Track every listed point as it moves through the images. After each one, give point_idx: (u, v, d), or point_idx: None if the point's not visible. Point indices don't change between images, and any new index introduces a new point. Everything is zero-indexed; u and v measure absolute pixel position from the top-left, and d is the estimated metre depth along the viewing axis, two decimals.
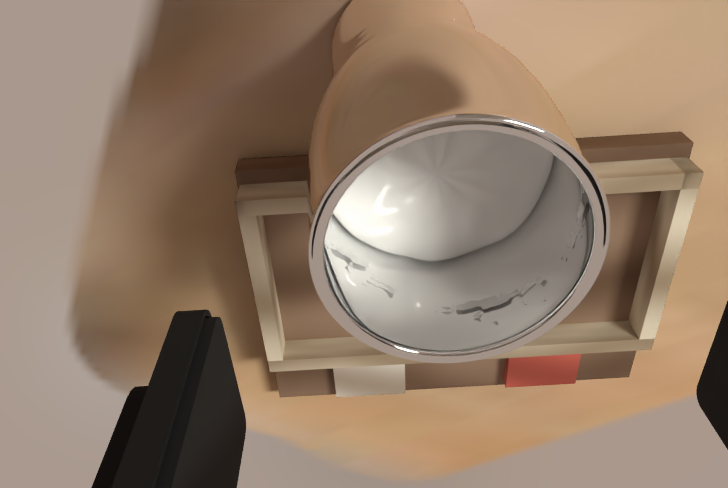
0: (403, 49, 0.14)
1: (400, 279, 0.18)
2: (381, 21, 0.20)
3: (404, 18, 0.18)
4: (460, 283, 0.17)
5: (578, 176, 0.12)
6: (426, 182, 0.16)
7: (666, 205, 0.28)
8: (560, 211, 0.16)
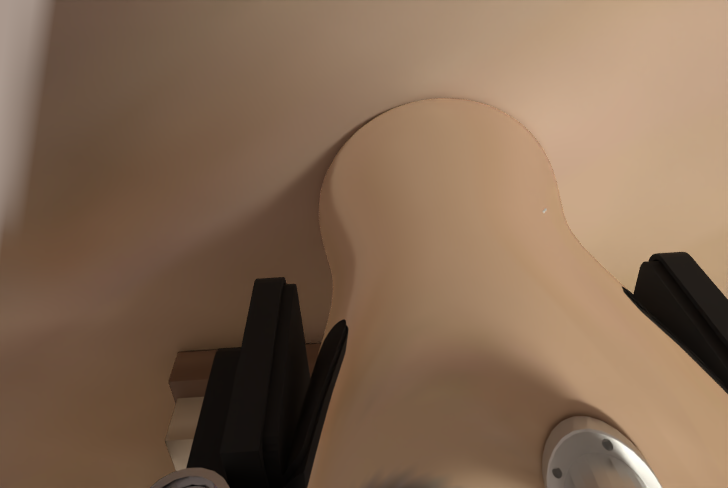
0: None
1: None
2: (410, 225, 0.10)
3: (464, 254, 0.09)
4: None
5: None
6: None
7: None
8: None
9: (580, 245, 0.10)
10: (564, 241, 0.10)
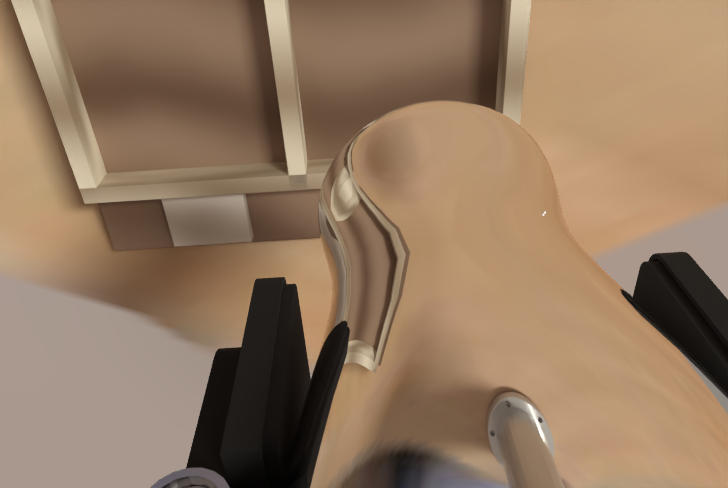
0: None
1: None
2: (410, 228, 0.10)
3: (464, 257, 0.09)
4: None
5: None
6: None
7: None
8: None
9: (580, 248, 0.10)
10: (564, 244, 0.10)
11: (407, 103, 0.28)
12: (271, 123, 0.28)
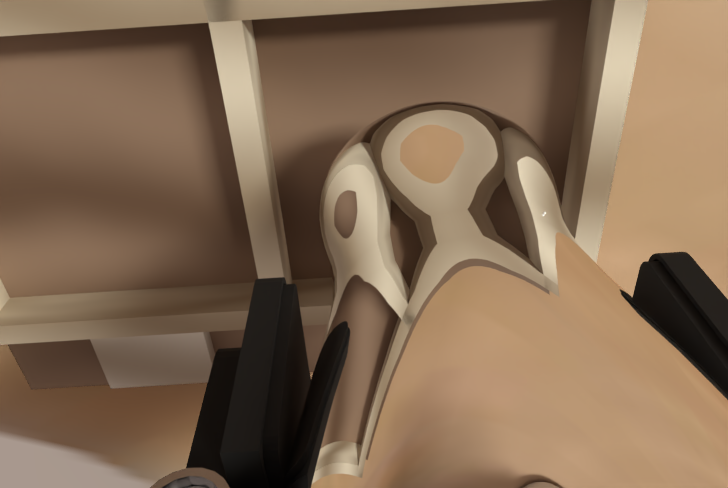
0: None
1: None
2: (410, 228, 0.10)
3: (464, 258, 0.09)
4: None
5: None
6: None
7: (595, 41, 0.16)
8: None
9: (579, 248, 0.10)
10: (563, 245, 0.10)
11: None
12: (239, 234, 0.20)
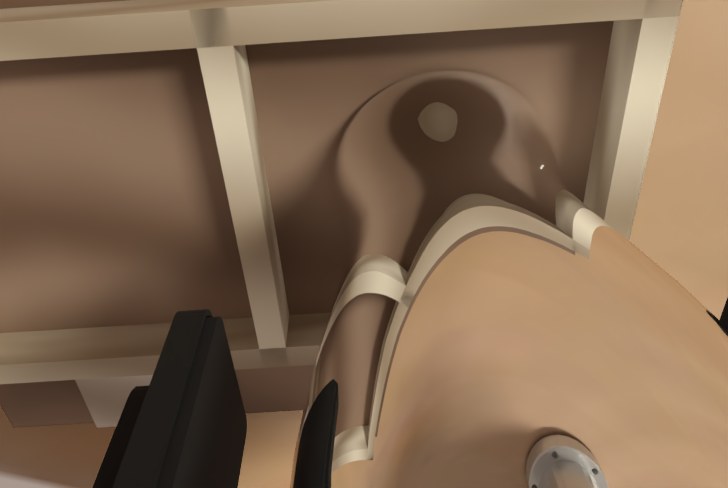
0: (516, 396, 0.06)
1: None
2: (420, 176, 0.11)
3: (470, 195, 0.10)
4: None
5: None
6: None
7: (618, 66, 0.14)
8: None
9: (573, 195, 0.11)
10: (559, 189, 0.11)
11: None
12: (233, 268, 0.18)
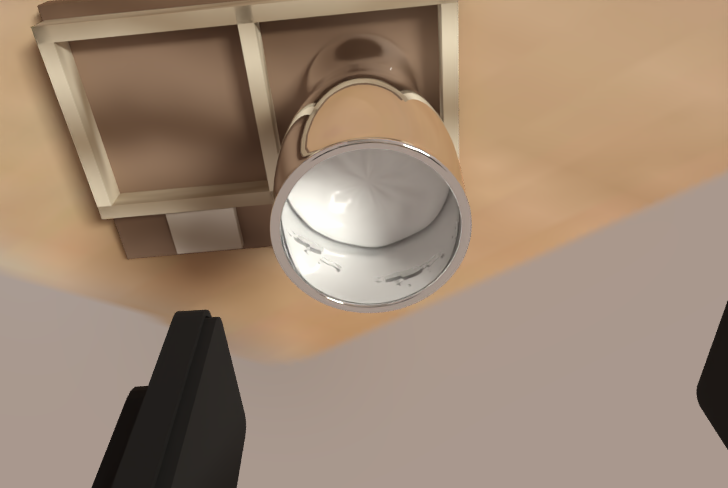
0: (336, 96, 0.21)
1: (347, 260, 0.24)
2: (335, 71, 0.27)
3: (348, 70, 0.25)
4: (390, 261, 0.24)
5: (442, 177, 0.18)
6: (361, 188, 0.23)
7: (439, 28, 0.30)
8: (455, 205, 0.22)
9: (400, 76, 0.27)
10: (390, 71, 0.26)
11: None
12: (254, 148, 0.34)
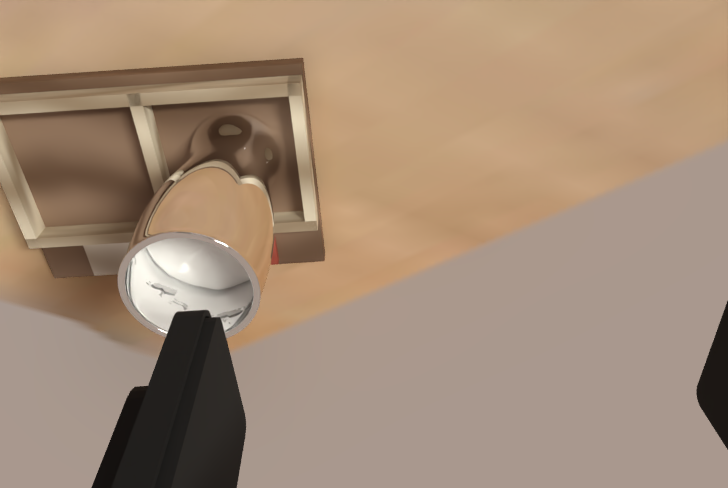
0: (175, 188, 0.29)
1: (195, 300, 0.32)
2: (199, 151, 0.35)
3: (203, 155, 0.33)
4: (225, 302, 0.32)
5: (233, 256, 0.27)
6: (201, 249, 0.31)
7: None
8: None
9: (248, 157, 0.35)
10: (238, 154, 0.34)
11: None
12: None
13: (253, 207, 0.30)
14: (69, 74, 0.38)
